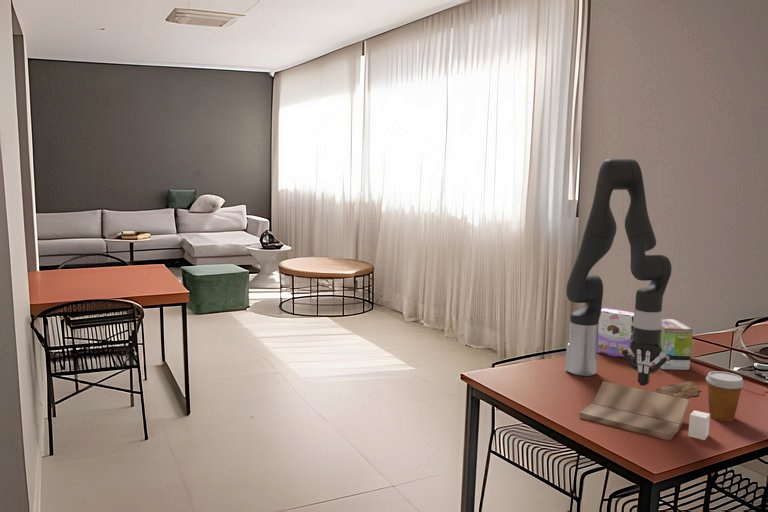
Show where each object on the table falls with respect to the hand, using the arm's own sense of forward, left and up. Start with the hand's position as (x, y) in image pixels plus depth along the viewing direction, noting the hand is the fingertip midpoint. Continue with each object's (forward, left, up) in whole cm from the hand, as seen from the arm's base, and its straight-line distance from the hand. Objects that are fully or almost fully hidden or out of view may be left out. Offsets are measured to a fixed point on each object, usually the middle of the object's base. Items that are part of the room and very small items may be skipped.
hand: (643, 384), depth 190 cm
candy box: (-25, +52, -8) cm, 58 cm away
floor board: (0, -11, -8) cm, 14 cm away
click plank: (0, -1, -6) cm, 6 cm away
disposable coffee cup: (+19, +10, -8) cm, 23 cm away
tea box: (-7, +53, -8) cm, 54 cm away
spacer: (+17, -8, -8) cm, 20 cm away
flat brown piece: (+4, +24, -9) cm, 26 cm away
